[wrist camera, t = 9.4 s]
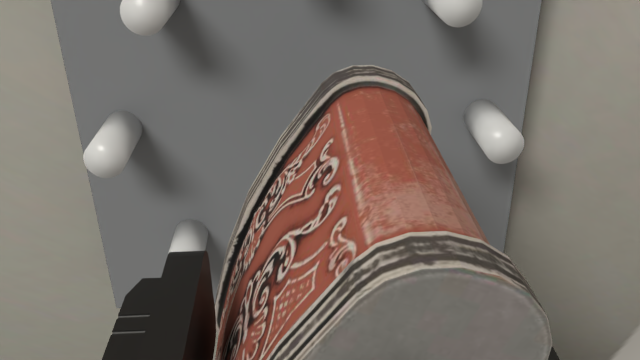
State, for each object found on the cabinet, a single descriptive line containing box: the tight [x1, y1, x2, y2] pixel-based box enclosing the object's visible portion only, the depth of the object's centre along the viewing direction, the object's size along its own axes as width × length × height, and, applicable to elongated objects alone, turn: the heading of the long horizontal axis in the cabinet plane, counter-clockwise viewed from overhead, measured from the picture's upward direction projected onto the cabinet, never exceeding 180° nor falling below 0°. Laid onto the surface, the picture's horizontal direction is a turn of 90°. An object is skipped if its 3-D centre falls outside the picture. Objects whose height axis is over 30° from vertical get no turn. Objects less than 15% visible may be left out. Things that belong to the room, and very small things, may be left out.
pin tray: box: [51, 0, 542, 308], centre depth 20 cm, size 15×15×4 cm
